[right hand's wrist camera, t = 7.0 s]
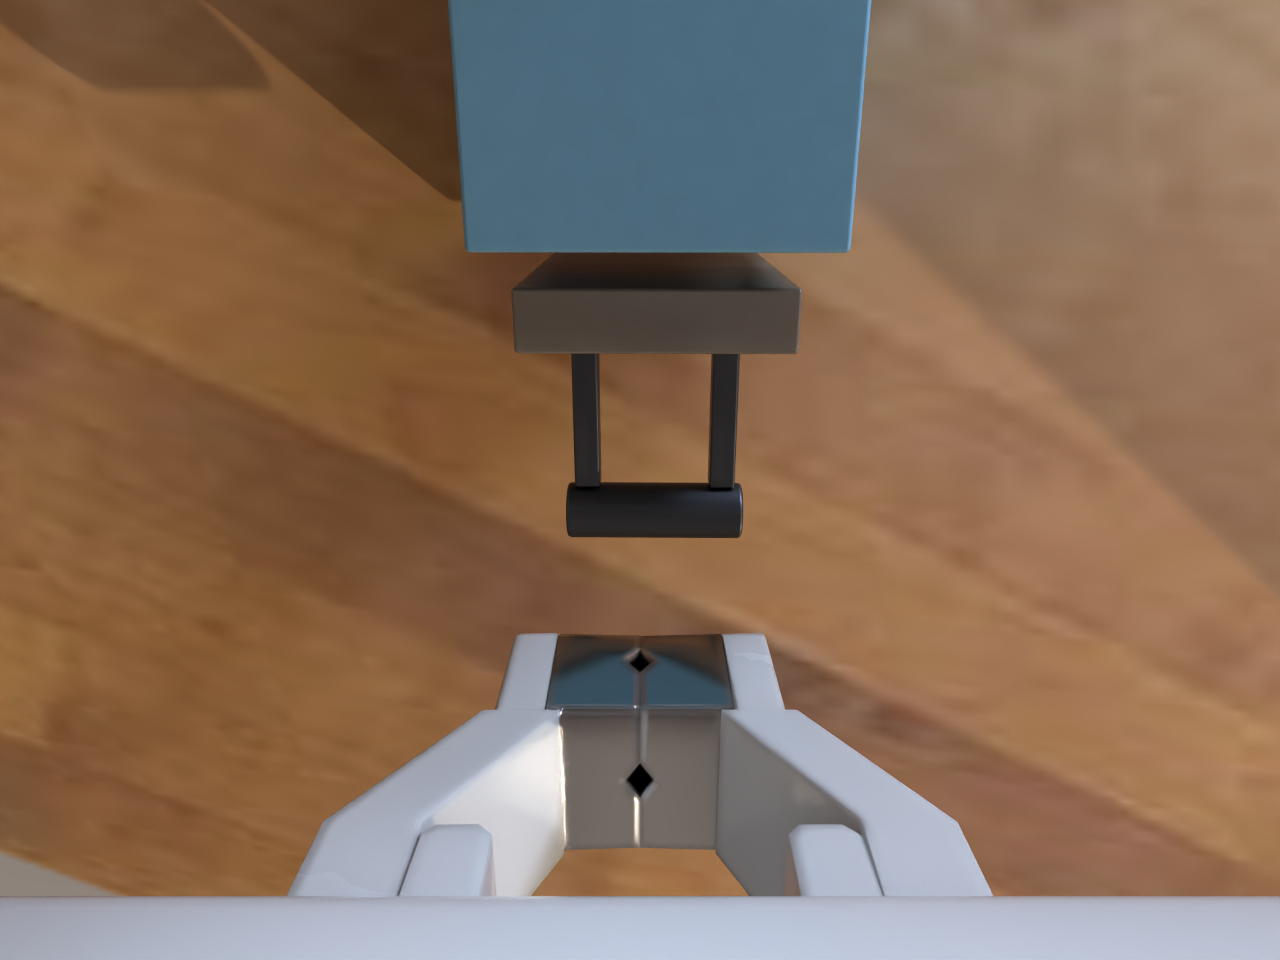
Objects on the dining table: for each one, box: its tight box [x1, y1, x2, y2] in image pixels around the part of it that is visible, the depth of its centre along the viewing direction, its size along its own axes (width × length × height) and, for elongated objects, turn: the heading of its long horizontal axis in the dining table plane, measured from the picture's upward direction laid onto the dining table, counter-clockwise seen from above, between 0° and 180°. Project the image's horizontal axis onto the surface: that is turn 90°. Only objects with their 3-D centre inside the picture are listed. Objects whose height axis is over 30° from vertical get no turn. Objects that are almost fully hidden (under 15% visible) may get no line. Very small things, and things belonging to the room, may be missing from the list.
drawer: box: [511, 252, 802, 538], centre depth 17 cm, size 20×5×7 cm, turn 0°
